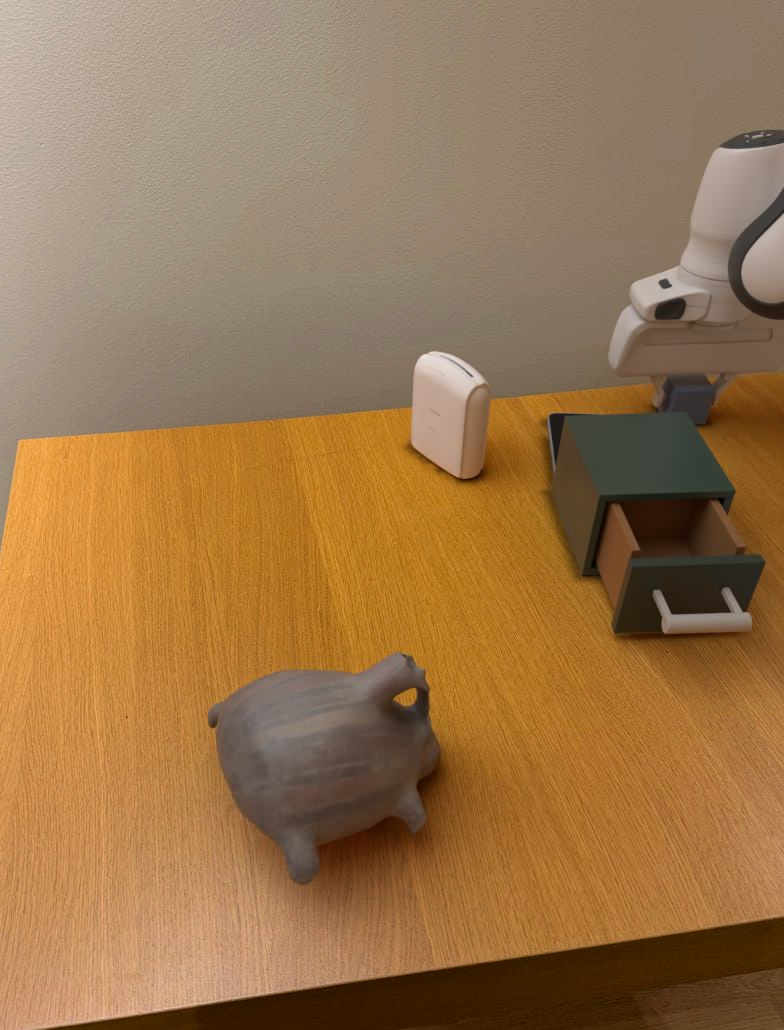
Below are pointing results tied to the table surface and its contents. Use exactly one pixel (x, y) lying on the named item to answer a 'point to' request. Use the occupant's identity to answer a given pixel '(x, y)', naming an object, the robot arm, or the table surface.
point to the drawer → (675, 567)
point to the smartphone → (557, 432)
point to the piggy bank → (326, 754)
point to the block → (689, 396)
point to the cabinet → (629, 470)
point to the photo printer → (450, 413)
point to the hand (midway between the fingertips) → (683, 404)
